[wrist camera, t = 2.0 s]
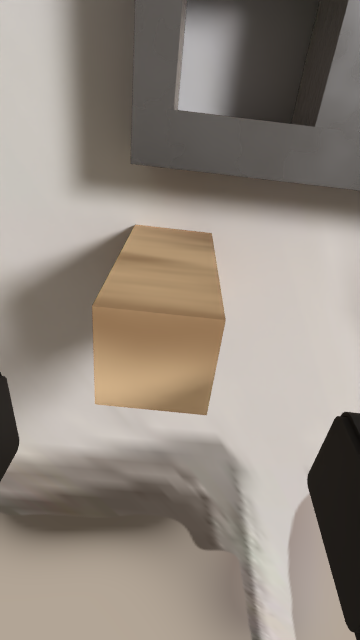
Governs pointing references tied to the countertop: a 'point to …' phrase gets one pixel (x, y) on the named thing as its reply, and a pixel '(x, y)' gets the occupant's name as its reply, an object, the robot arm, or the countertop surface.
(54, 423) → the countertop surface
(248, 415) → the countertop surface
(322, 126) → the rail
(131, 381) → the peg
